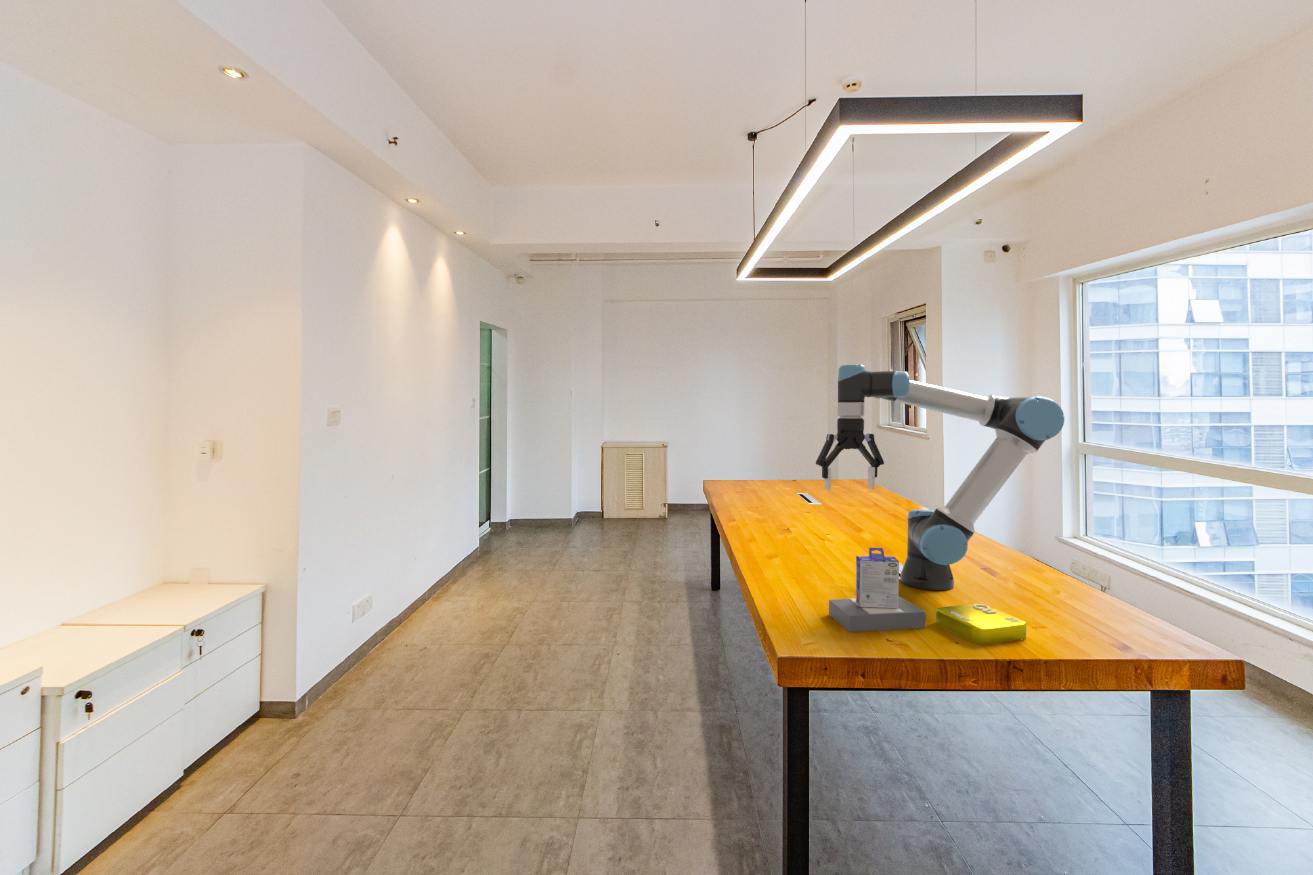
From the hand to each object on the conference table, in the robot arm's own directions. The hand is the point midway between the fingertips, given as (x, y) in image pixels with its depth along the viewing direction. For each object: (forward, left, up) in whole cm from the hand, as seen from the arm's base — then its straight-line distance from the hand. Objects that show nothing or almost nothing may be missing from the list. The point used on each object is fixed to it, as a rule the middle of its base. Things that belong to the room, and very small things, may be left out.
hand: (849, 489), depth 173 cm
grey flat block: (+4, +24, -31) cm, 39 cm away
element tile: (-18, +33, -31) cm, 49 cm away
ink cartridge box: (+4, +24, -27) cm, 36 cm away
